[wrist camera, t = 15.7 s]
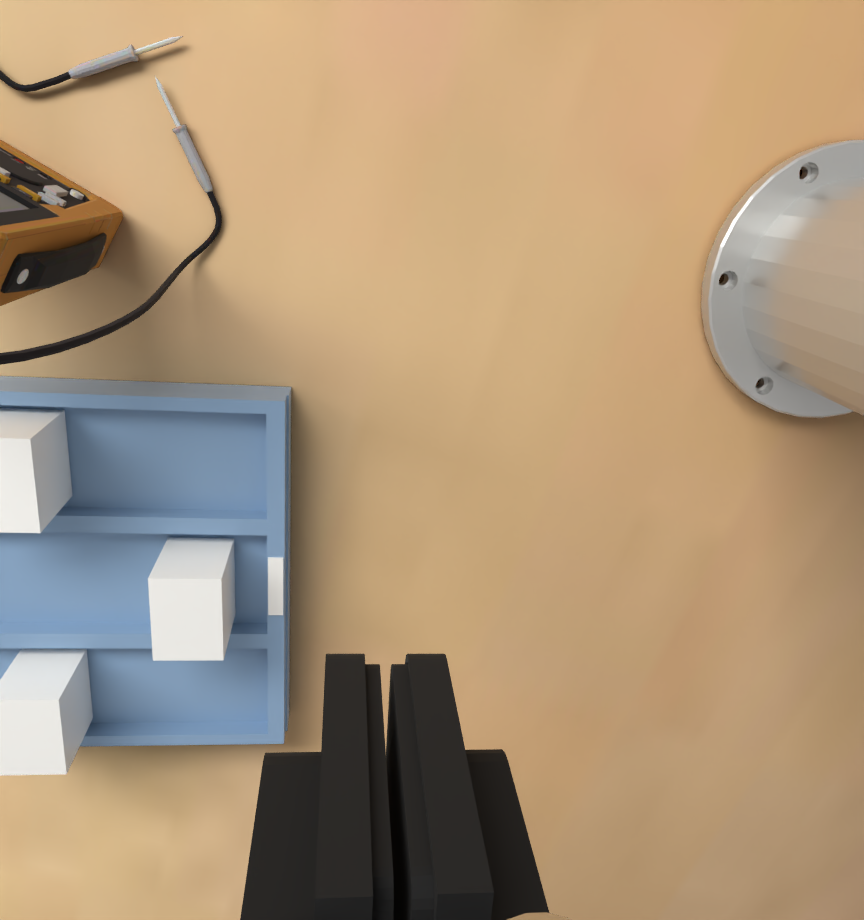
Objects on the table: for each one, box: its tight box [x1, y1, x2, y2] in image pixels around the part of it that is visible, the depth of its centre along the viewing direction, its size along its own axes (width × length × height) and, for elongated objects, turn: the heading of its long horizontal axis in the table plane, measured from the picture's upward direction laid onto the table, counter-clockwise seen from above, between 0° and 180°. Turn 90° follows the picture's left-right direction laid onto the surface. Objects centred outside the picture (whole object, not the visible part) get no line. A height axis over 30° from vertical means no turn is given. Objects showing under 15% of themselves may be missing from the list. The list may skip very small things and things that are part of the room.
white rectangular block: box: [148, 537, 236, 661], centre depth 36 cm, size 3×4×4 cm
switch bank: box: [0, 376, 291, 746], centre depth 38 cm, size 16×18×3 cm
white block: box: [0, 408, 72, 533], centre depth 33 cm, size 3×4×4 cm
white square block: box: [0, 649, 93, 775], centre depth 37 cm, size 3×4×4 cm
